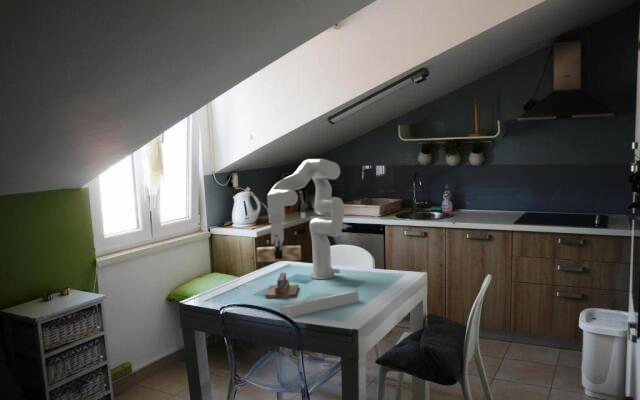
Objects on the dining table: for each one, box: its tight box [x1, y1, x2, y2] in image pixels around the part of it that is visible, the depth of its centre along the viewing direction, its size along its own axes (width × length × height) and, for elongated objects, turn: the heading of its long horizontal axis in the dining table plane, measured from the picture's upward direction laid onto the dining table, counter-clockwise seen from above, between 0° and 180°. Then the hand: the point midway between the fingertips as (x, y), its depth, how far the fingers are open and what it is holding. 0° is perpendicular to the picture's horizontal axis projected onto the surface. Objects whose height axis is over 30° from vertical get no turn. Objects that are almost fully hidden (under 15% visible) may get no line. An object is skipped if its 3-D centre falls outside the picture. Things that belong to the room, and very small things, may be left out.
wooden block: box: [255, 245, 302, 263], centre depth 241 cm, size 20×4×6 cm, turn 88°
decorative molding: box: [279, 290, 360, 318], centre depth 226 cm, size 34×5×10 cm
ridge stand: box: [264, 272, 300, 299], centre depth 249 cm, size 14×16×8 cm
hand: (279, 257), depth 241 cm, fingers closed on wooden block, 4 cm apart
